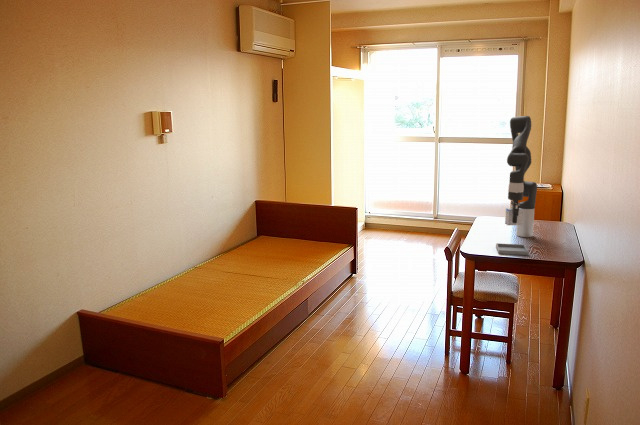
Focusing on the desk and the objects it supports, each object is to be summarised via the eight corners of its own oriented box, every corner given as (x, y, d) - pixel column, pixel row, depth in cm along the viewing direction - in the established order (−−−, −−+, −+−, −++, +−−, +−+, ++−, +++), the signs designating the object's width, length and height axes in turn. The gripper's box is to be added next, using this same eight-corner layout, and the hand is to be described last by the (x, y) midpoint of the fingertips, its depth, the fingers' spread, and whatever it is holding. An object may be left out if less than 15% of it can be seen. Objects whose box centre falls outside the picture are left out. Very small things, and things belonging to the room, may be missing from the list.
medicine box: (519, 223, 286) (520, 208, 284) (522, 225, 281) (523, 209, 280) (504, 223, 285) (505, 208, 284) (508, 225, 281) (509, 209, 279)
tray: (495, 247, 295) (496, 243, 294) (524, 248, 291) (524, 244, 291) (498, 254, 281) (498, 250, 280) (528, 255, 277) (528, 251, 277)
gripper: (506, 188, 287) (505, 219, 291) (510, 192, 274) (508, 224, 277) (521, 189, 286) (519, 219, 289) (525, 193, 272) (523, 225, 275)
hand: (513, 221), depth 283 cm, fingers closed on medicine box, 5 cm apart
